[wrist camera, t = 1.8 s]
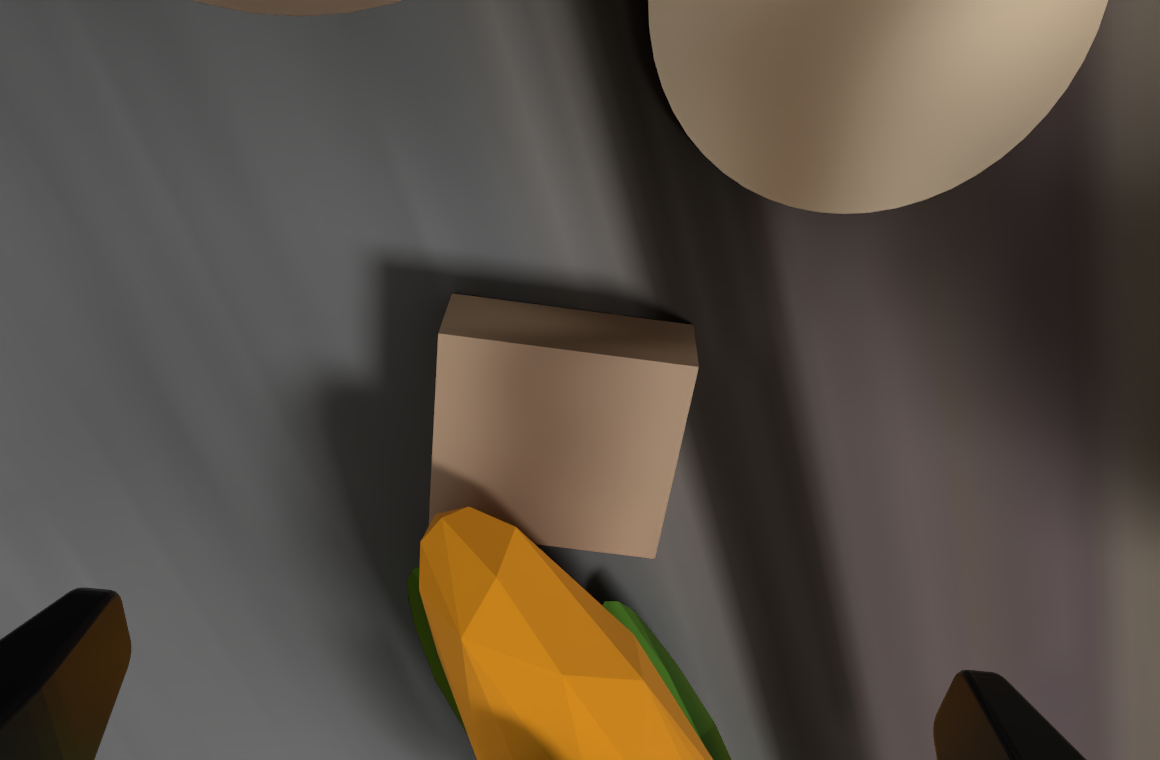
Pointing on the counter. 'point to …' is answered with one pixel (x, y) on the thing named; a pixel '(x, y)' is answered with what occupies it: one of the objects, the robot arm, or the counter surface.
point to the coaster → (864, 89)
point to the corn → (545, 655)
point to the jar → (298, 6)
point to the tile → (560, 421)
